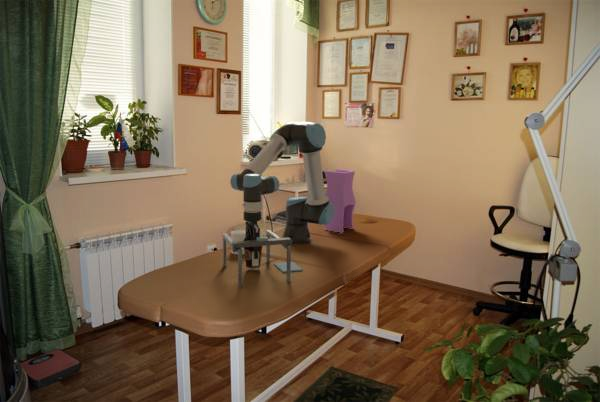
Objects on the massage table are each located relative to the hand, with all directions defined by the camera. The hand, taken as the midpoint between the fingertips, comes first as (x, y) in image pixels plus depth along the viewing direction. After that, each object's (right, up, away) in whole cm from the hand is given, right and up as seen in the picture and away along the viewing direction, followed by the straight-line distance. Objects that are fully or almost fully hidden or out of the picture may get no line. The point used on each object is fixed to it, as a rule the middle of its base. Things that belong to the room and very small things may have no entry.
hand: (252, 262), depth 207 cm
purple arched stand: (+43, +9, +78) cm, 89 cm away
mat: (+15, -3, +5) cm, 16 cm away
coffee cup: (0, -2, 0) cm, 2 cm away
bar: (+5, +8, -15) cm, 18 cm away
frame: (+1, -4, -4) cm, 6 cm away
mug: (-7, +1, +26) cm, 27 cm away
